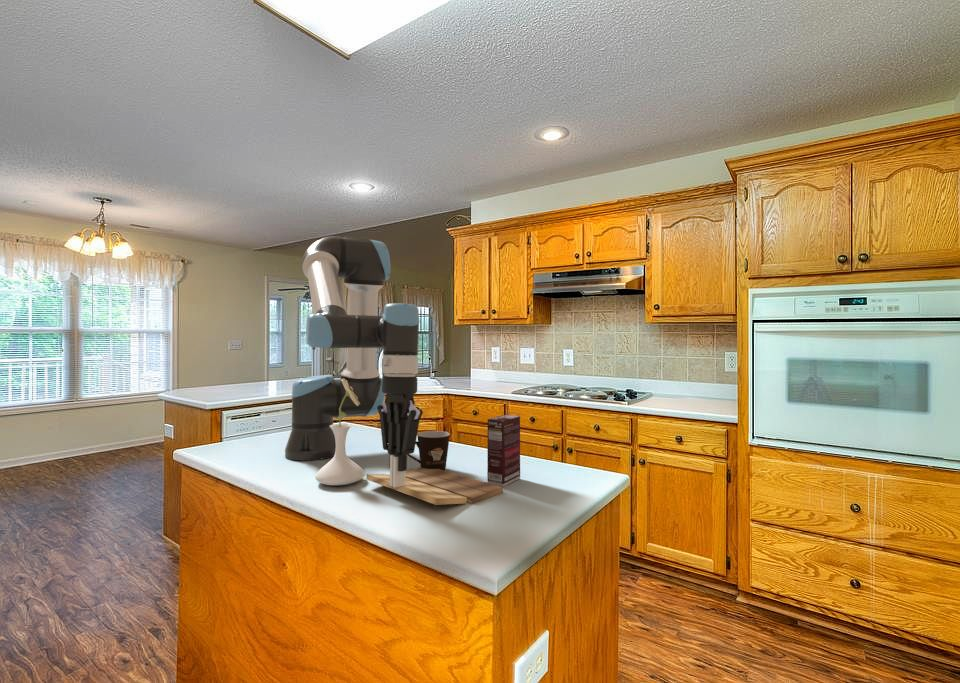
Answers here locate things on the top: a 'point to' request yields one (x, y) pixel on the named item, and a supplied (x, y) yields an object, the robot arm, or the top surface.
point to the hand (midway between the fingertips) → (397, 485)
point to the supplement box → (503, 450)
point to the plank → (420, 490)
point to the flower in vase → (341, 452)
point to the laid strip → (455, 483)
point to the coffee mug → (432, 449)
